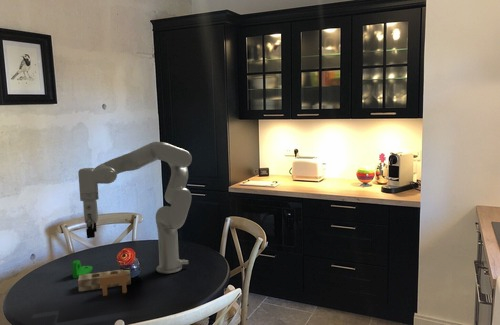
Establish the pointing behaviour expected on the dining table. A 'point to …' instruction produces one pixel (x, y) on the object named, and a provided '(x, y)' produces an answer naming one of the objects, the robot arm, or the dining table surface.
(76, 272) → the mechanical part
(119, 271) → the rail
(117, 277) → the brown piece
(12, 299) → the dining table surface
